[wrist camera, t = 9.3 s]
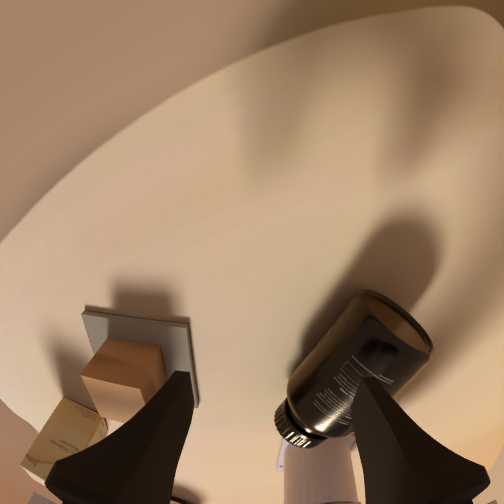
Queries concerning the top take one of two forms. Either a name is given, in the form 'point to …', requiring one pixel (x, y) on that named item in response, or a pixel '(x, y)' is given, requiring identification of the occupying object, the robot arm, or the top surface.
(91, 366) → the walnut cube
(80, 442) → the skincare box
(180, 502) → the spread jar
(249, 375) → the top surface
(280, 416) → the supplement bottle
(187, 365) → the slate mat
